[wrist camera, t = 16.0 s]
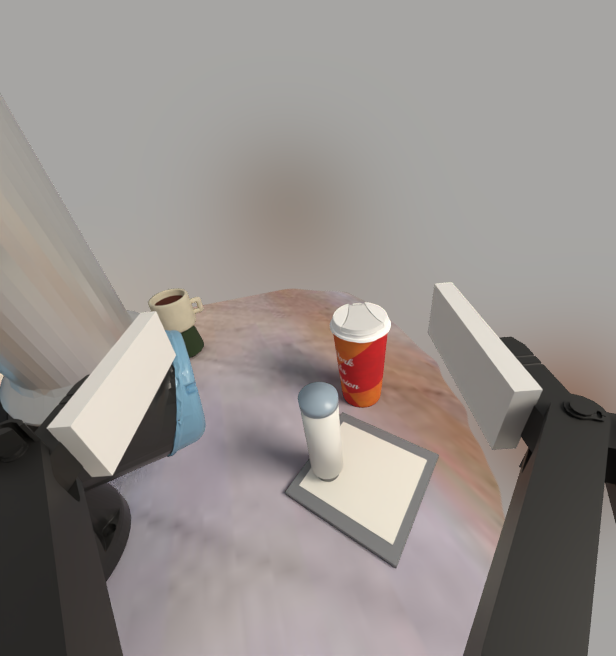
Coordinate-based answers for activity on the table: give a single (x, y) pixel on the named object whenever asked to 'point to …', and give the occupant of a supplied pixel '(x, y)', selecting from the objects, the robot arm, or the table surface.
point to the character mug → (179, 316)
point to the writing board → (370, 488)
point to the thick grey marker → (322, 429)
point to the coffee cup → (360, 350)
